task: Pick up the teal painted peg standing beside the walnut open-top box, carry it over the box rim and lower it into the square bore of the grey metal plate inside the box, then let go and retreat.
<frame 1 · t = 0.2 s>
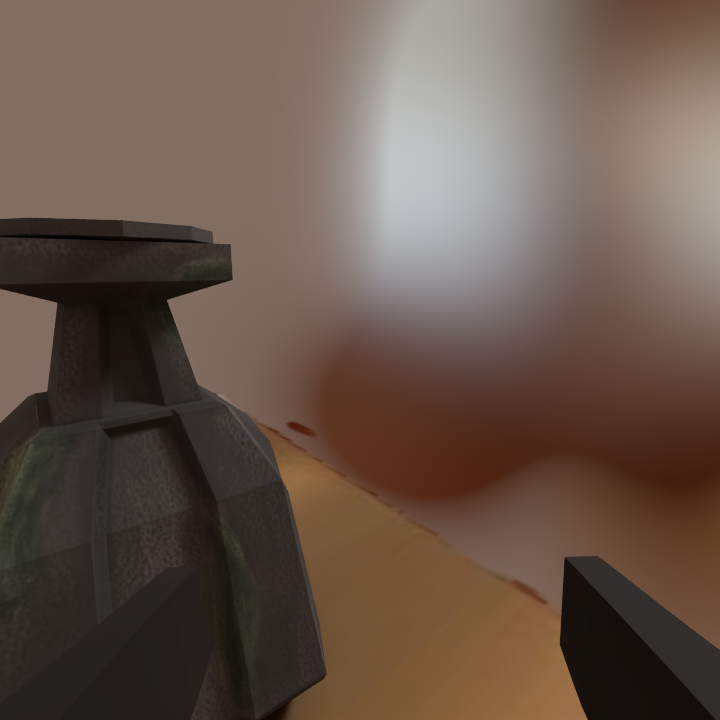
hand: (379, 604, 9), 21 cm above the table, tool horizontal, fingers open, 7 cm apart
dark faceted flask: (158, 694, 30), on the table
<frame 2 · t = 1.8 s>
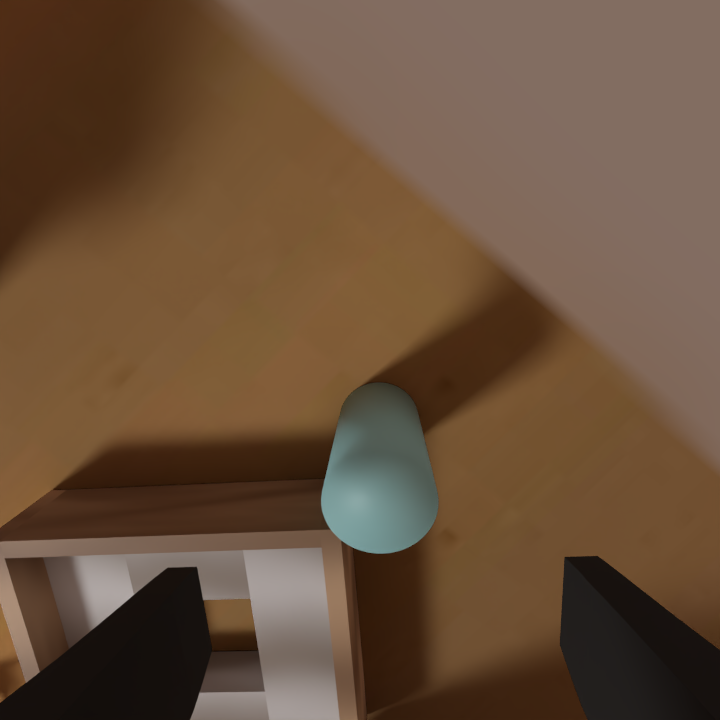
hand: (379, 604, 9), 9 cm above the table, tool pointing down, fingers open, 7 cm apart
box: (218, 609, 20), on the table
peg: (379, 420, 18), on the table
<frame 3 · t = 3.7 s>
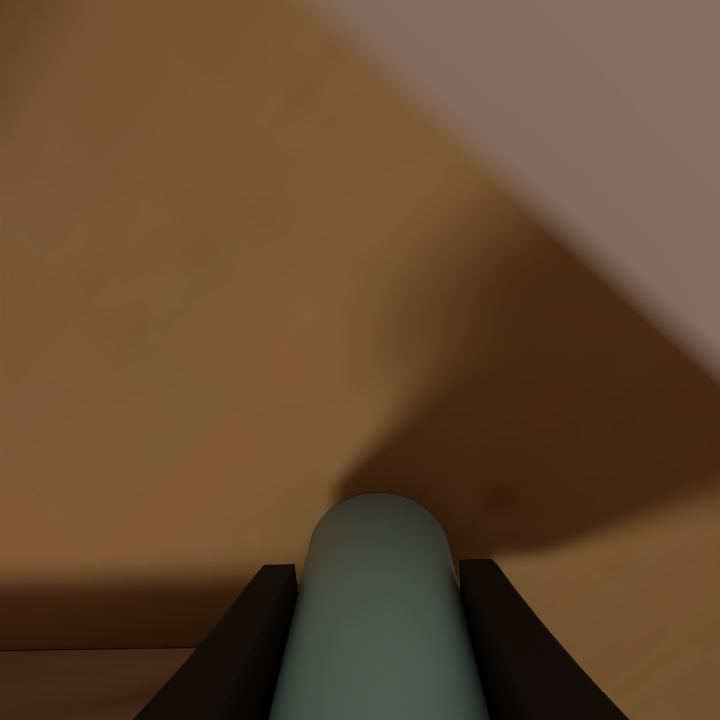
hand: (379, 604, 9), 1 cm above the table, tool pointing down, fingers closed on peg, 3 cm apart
peg: (379, 555, 10), on the table, touching gripper
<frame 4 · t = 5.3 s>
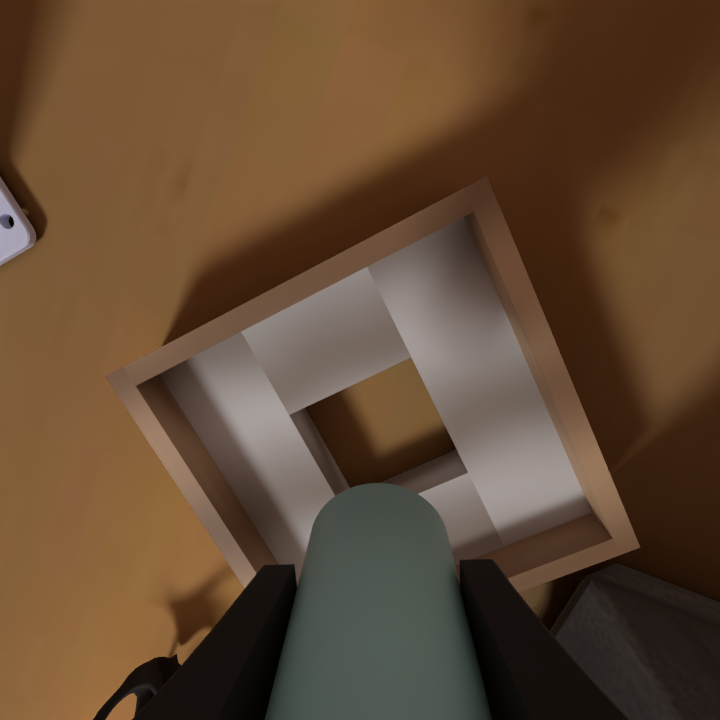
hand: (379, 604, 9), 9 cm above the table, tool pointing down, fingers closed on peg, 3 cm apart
dark faceted flask: (628, 718, 21), on the table
creature: (209, 678, 22), on the table
box: (379, 422, 18), on the table
peg: (378, 545, 10), point 8 cm above the table, touching gripper
when the fingers open (3 cm above the table, at t = 7.2 s): peg drops 1 cm, resting in box.
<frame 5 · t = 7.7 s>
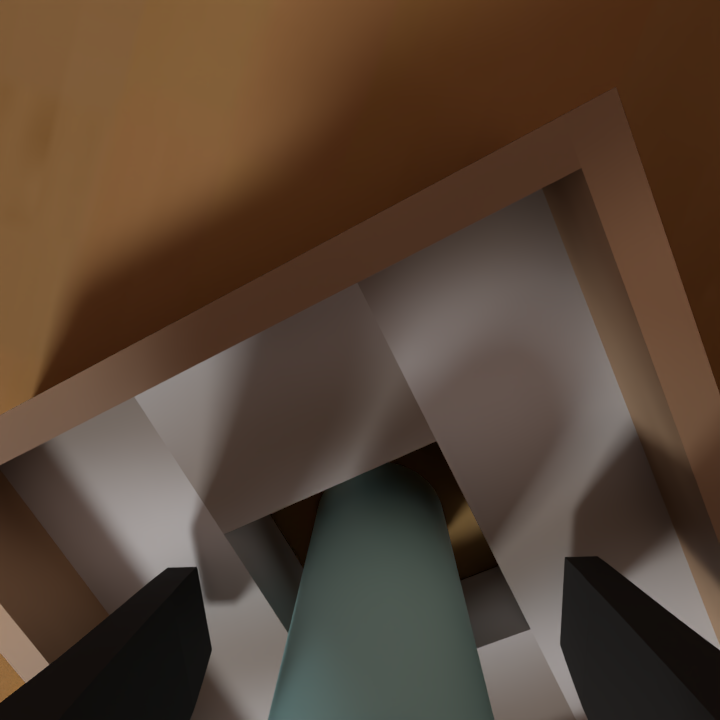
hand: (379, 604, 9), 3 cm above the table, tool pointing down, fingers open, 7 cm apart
box: (379, 524, 11), on the table
peg: (379, 519, 11), resting in box
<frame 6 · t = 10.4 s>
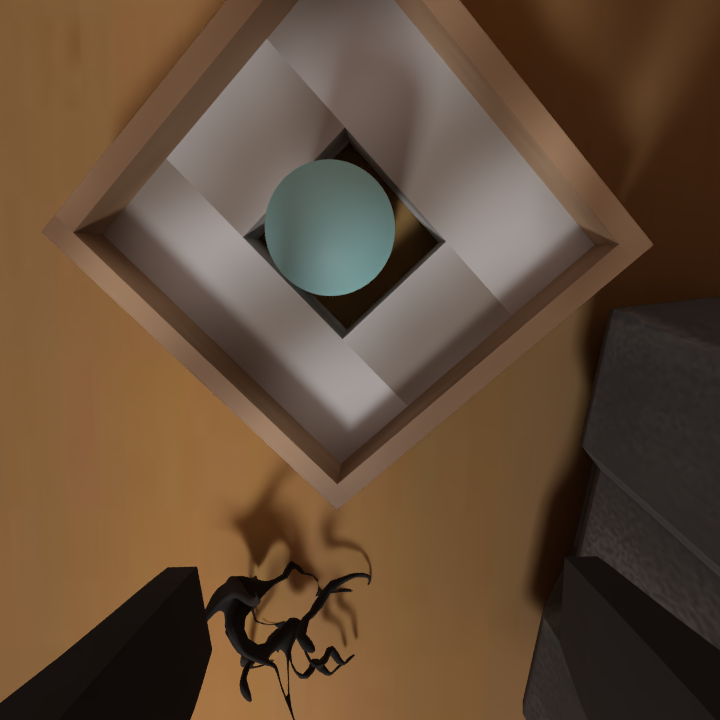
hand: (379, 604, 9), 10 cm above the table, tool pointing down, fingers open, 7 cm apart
creature: (295, 598, 21), on the table
box: (347, 240, 16), on the table
peg: (347, 237, 16), resting in box
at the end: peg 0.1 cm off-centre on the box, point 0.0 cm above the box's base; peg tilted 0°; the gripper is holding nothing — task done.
